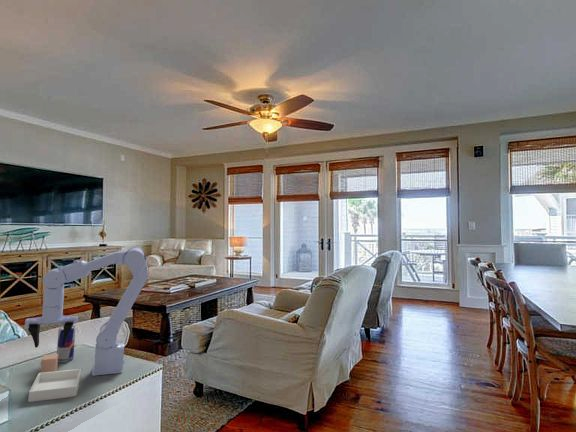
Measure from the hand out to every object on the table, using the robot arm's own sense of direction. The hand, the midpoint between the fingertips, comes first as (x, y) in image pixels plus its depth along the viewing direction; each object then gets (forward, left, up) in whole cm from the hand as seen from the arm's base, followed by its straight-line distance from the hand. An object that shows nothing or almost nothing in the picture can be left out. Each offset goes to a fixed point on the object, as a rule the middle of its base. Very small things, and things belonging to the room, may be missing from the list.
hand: (50, 345), depth 118 cm
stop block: (0, 0, -10) cm, 10 cm away
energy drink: (-3, -11, -10) cm, 15 cm away
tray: (-4, +11, -10) cm, 15 cm away
